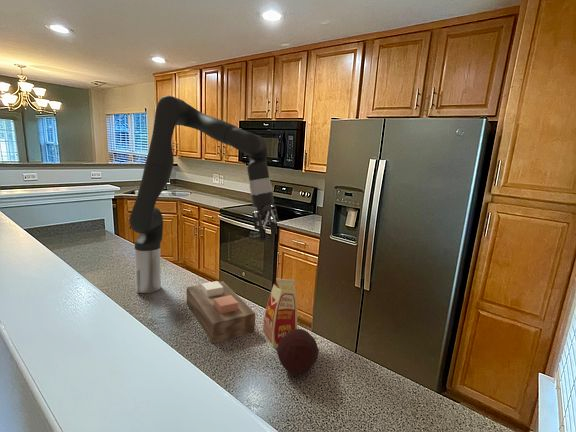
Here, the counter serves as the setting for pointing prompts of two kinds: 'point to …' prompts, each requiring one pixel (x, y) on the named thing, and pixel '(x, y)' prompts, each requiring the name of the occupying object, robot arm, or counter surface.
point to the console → (220, 315)
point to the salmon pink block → (225, 304)
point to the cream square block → (211, 289)
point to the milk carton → (280, 311)
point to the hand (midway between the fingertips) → (269, 237)
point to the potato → (297, 352)
